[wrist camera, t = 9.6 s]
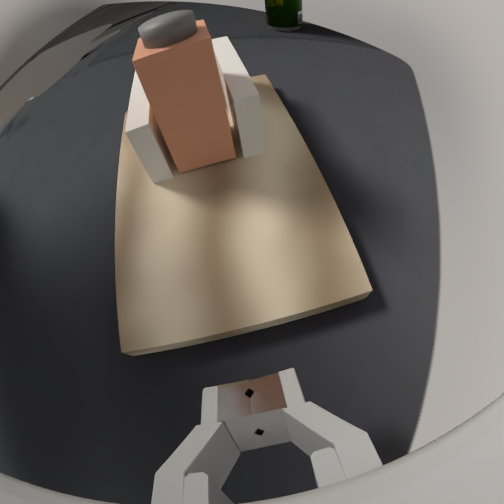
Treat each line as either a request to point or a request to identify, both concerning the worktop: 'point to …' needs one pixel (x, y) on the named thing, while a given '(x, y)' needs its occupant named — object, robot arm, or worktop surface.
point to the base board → (230, 242)
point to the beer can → (284, 14)
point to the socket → (237, 100)
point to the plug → (184, 89)
